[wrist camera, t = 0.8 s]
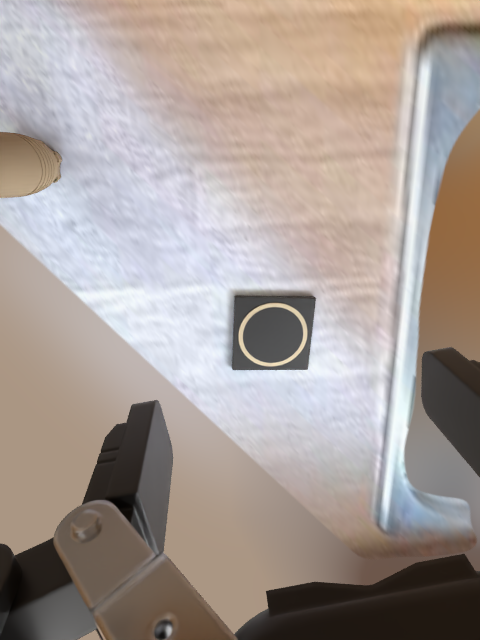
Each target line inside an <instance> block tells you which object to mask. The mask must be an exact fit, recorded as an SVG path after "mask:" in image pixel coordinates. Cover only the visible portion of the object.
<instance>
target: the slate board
mask: <svg viewBox="0 0 480 640" xmlns="http://www.w3.org/2000/svg"><path fill="white" fill-rule="evenodd" d="M315 300H316V298H315V297H282V296H235V304H234V332H233V360H232V369H233V370H307V369H308V362H309V353H310V344H311V336H312V327H313V318H314V309H315Z"/></svg>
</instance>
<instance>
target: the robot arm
mask: <svg viewBox="0 0 480 640" xmlns="http://www.w3.org/2000/svg"><path fill="white" fill-rule="evenodd" d="M421 391H422V393H421V397H422V403H423V406H424V409H425V411H426V413H427V415H428V416H429V418H430V419H431V420H432V421H433V422H434V424H435V425H436V426H437V427H438V428H439V429H440V431H441V432H442V433H443V434H444V435H445V437H446V438H447V439H448V440H449V441H450V442H451V444H452V445H453V446H454V447H455V448H456V450H457V451H458V452H459V453H460V454H461V456H462V457H463V458H464V459H465V460H466V461H467V463H468V464H469V465H470V466H471V467H472V468H473V470H474V471H475V472H476V473H477V475H478V476H479V477H480V362H477V361H475V360H471V361H469V360H468V359H467V358H465V357H464V356H463V355H461V354H460V353H459V352H458V351H456V350H455V349H454V348H451V347H449V348H443V349H438V350H432V351H427V352H425V353H424V354H423V357H422V390H421ZM172 465H173V453H172V445H171V441H170V437H169V434H168V430H167V427H166V423H165V420H164V416H163V413H162V409H161V406H160V403H159V401H158V400H154V401H149V402H143V403H138V404H133V405H132V406H131V409H130V412H129V416H128V419H127V423H122V424H117V425H116V426H115V427H114V428H113V429H112V430H111V431H110V433H109V434H108V435H107V436H106V437H105V440H104V443H103V446H102V449H101V453H100V454H99V457H98V460H97V465H96V466H95V469H94V472H93V475H92V478H91V480H90V483H89V486H88V489H87V492H86V495H85V497H84V500H83V503H82V505H81V506H79V507H77V508H76V509H74V510H73V511H72V512H70V513H69V514H68V515H67V516H66V517H65V518H64V519H63V520H62V521H61V522H60V524H59V525H58V527H57V529H56V531H55V534H54V537H53V538H52V539H50V540H48V541H46V542H44V543H42V544H39V545H37V546H35V547H33V548H30V549H28V550H26V551H24V552H22V553H19V554H17V555H15V556H14V554H13V552H12V551H11V549H10V548H9V547H8V546H7V545H5V544H0V640H77V639H79V638H81V637H83V636H85V635H87V634H89V633H90V632H92V631H94V630H96V632H97V634H98V636H99V638H100V640H480V571H475V570H474V568H473V567H472V565H471V563H470V562H469V561H468V559H467V557H466V556H465V554H461V555H455V556H450V557H445V558H439V559H434V560H429V561H423V562H418V563H415V564H413V565H411V566H409V567H407V568H405V569H403V570H401V571H399V572H397V573H395V574H393V575H391V576H389V577H387V578H385V579H383V580H381V581H379V582H377V583H375V584H373V585H367V586H364V585H351V584H337V583H324V582H312V583H306V584H301V585H296V586H290V587H285V588H279V589H274V590H269V591H266V594H267V601H268V609H267V610H265V611H263V612H261V613H259V614H258V615H256V616H255V617H253V618H252V619H250V620H249V621H248V622H247V623H245V624H244V625H243V626H242V627H241V628H240V629H239V630H238V631H237V632H236V633H235V634H233V633H232V632H231V630H230V629H229V628H228V627H227V626H226V624H225V623H224V622H223V621H222V620H221V619H220V617H219V616H218V615H217V614H216V613H215V612H214V611H213V609H212V608H211V607H210V606H209V604H207V602H206V601H205V600H204V599H203V598H202V597H201V595H200V594H199V593H198V592H197V590H196V589H195V588H194V587H193V586H192V585H191V584H190V582H189V581H188V580H187V579H186V577H185V576H184V575H183V574H182V573H181V572H180V570H179V569H178V568H177V567H176V566H175V565H174V563H173V562H172V561H171V560H170V559H169V558H168V557H167V556H166V555H165V554H164V553H163V551H164V542H165V532H166V523H167V513H168V503H169V493H170V484H171V475H172Z"/></svg>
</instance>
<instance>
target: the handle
mask: <svg viewBox="0 0 480 640" xmlns="http://www.w3.org/2000/svg"><path fill="white" fill-rule="evenodd" d="M61 162H62V159H61V156H60V155H59V153H58V152H55V151H52V150H51V149H50V148H49V147H48V146H46V145H45V144H44V142H42V141H40V140H36V139H34V138H31V137H28V136H25V135H21V134H16V133H8V132H0V198H9V197H22V196H27V195H31V194H34V193H37V192H39V191H42V190H43V189H45V188H47V187H48V186H49V185H51V184H52V182H54V183H55V182H57V181H58V180H59V179H60V178H61V175H60V163H61Z"/></svg>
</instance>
